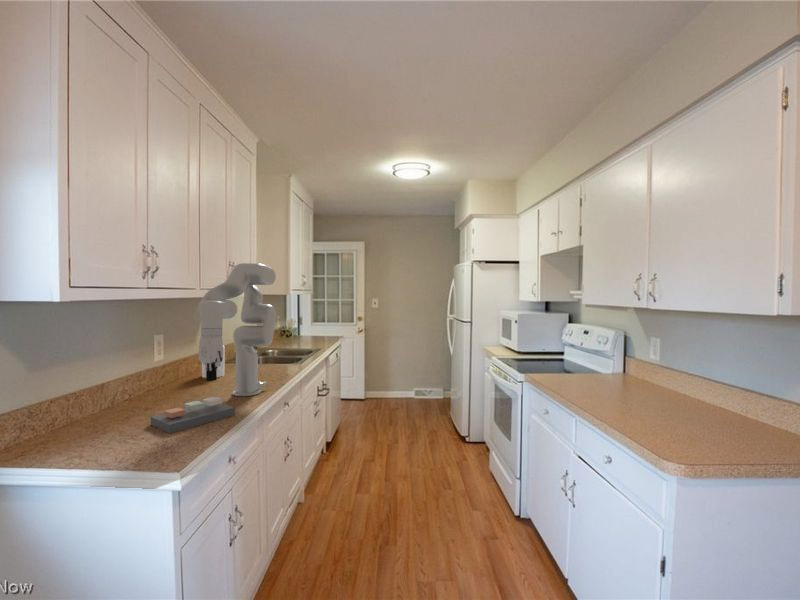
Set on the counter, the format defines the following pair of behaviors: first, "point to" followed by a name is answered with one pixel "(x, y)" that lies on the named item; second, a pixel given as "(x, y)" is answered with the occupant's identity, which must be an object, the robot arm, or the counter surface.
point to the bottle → (219, 369)
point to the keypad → (192, 417)
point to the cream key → (212, 401)
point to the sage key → (194, 405)
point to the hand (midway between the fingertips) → (211, 380)
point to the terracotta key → (174, 412)
